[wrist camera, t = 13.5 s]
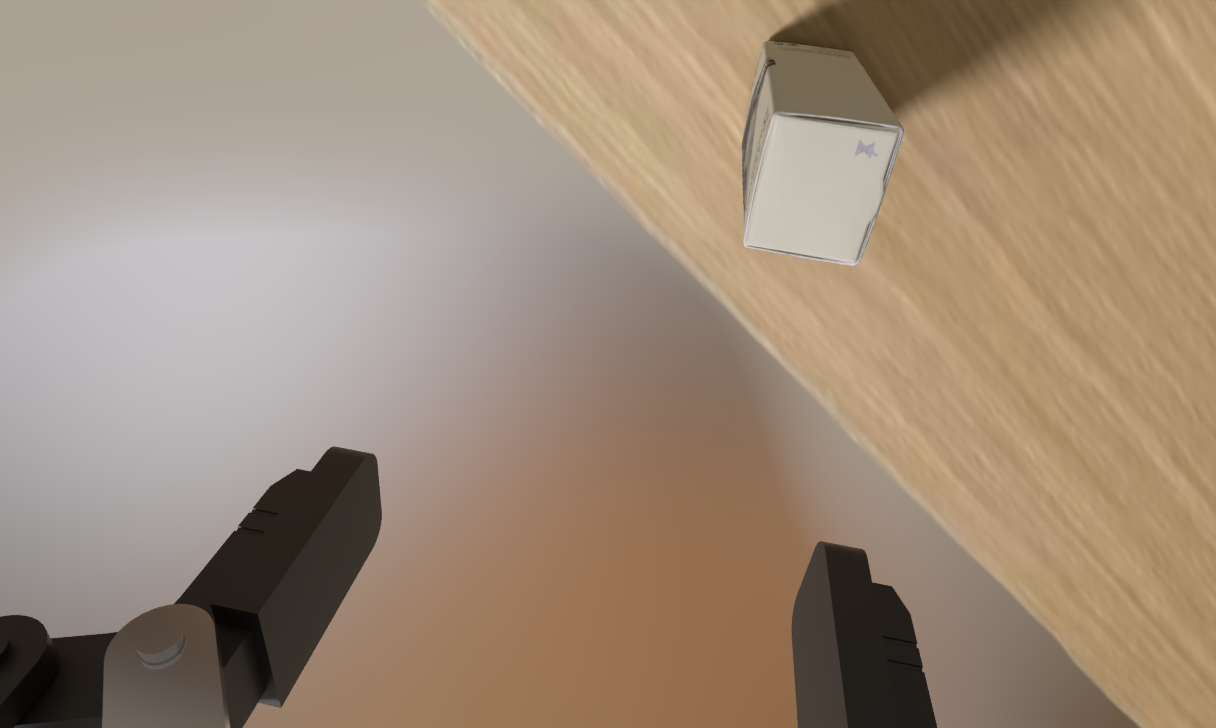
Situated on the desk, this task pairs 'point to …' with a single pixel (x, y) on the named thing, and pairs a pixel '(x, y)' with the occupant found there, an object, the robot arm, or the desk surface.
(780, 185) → the box
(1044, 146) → the desk surface
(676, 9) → the desk surface
